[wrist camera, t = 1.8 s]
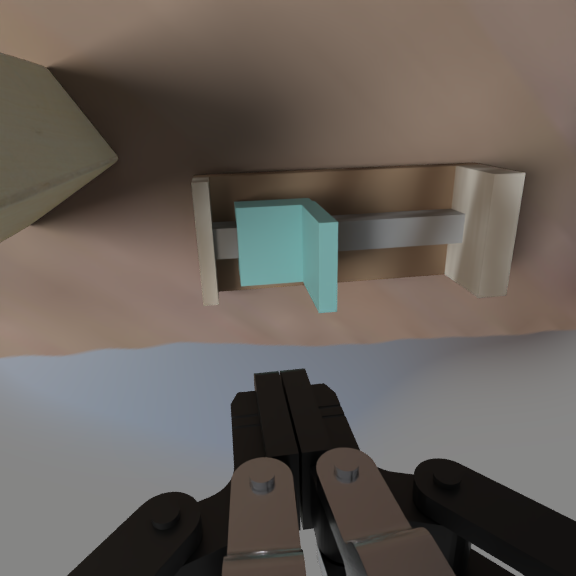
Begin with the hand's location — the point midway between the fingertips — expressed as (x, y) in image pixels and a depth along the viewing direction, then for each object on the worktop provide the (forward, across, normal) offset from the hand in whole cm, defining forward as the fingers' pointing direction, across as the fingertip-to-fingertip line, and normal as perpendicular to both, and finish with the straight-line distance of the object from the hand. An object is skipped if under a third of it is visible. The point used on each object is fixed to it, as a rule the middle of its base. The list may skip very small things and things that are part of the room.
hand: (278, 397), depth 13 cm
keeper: (+19, -2, 0) cm, 19 cm away
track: (+20, -7, 0) cm, 22 cm away
